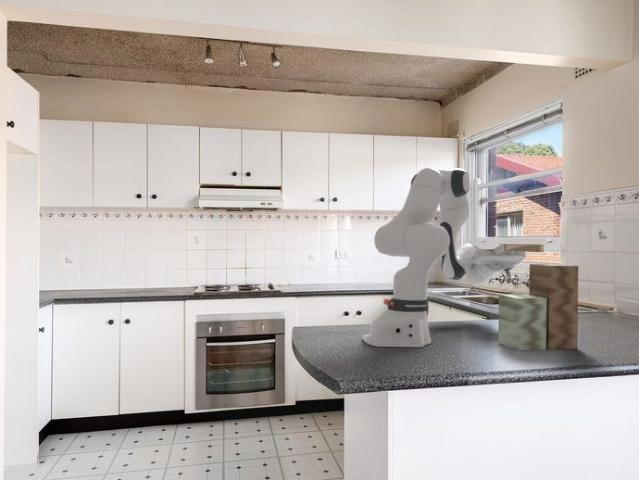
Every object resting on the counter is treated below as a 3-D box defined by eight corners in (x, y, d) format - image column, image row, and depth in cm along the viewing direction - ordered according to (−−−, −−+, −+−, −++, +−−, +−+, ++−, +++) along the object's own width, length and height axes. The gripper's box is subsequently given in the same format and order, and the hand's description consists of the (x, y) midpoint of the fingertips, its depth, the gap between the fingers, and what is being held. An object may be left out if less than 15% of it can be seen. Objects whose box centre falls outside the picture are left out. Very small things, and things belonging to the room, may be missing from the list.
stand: (516, 350, 139) (517, 265, 139) (498, 343, 149) (499, 264, 149) (577, 348, 143) (578, 266, 143) (555, 341, 153) (556, 264, 153)
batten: (536, 252, 153) (536, 244, 153) (499, 250, 175) (500, 243, 175) (543, 252, 154) (543, 244, 154) (506, 250, 176) (506, 243, 176)
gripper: (465, 255, 183) (481, 238, 171) (511, 255, 187) (530, 239, 175) (469, 269, 180) (485, 253, 168) (516, 269, 184) (535, 253, 172)
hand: (508, 246), depth 172 cm, fingers closed on batten, 3 cm apart
